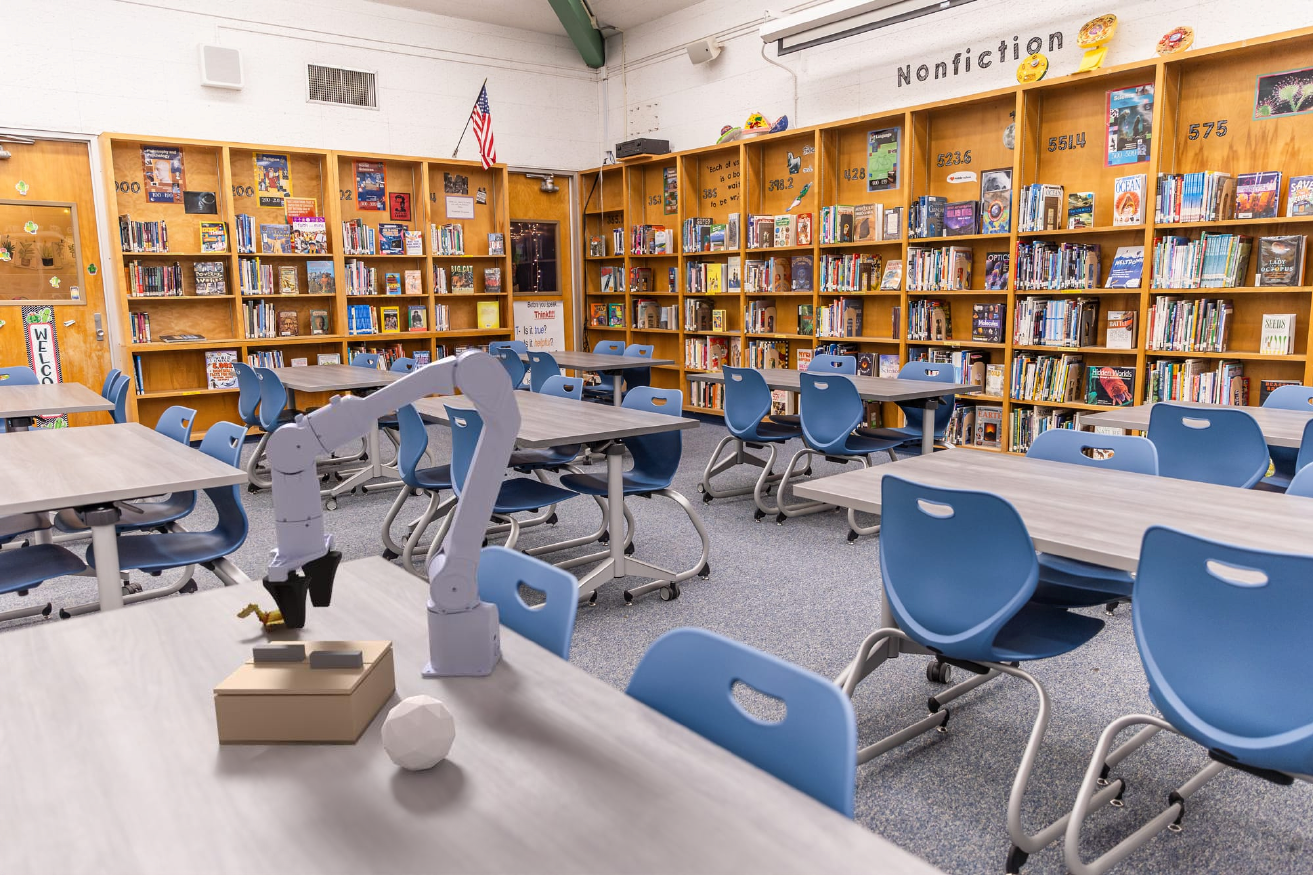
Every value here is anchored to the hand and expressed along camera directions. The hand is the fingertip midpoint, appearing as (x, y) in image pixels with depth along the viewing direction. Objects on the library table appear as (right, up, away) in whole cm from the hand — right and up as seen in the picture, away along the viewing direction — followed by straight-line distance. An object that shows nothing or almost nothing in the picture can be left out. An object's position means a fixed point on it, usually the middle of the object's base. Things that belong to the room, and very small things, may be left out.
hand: (308, 616), depth 115 cm
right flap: (+3, -4, -5) cm, 7 cm away
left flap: (+3, -5, -12) cm, 13 cm away
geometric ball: (+20, -13, -19) cm, 30 cm away
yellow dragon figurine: (-13, -7, +22) cm, 27 cm away
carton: (+3, -11, -7) cm, 14 cm away
